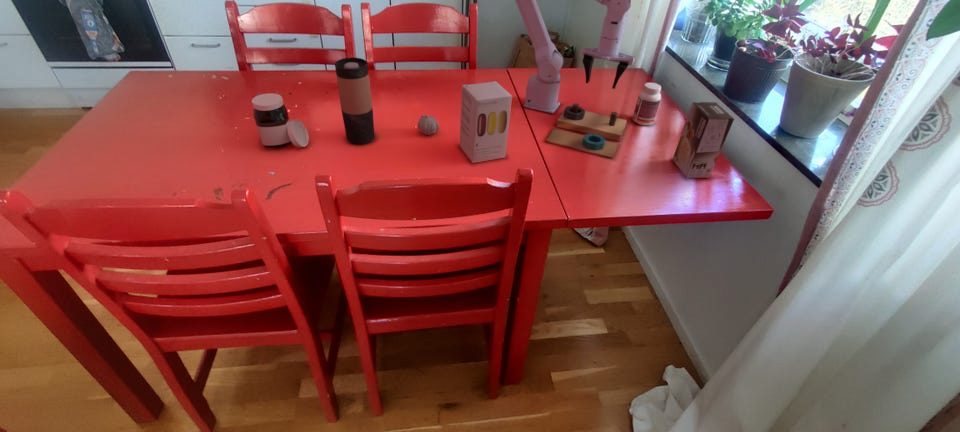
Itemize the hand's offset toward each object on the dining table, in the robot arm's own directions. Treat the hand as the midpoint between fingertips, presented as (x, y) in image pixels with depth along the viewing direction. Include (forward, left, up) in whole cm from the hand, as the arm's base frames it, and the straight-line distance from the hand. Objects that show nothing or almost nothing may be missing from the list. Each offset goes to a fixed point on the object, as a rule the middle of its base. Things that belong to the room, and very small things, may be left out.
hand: (600, 84), depth 132 cm
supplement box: (-21, -36, -10) cm, 43 cm away
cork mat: (+1, -19, -9) cm, 21 cm away
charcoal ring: (-4, -8, -7) cm, 12 cm away
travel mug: (-52, -45, -10) cm, 69 cm away
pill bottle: (+14, +3, -10) cm, 17 cm away
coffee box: (+29, -18, -10) cm, 35 cm away
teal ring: (+4, -19, -9) cm, 21 cm away
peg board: (+1, -8, -9) cm, 12 cm away
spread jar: (-67, -56, -10) cm, 88 cm away
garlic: (-38, -34, -10) cm, 52 cm away
